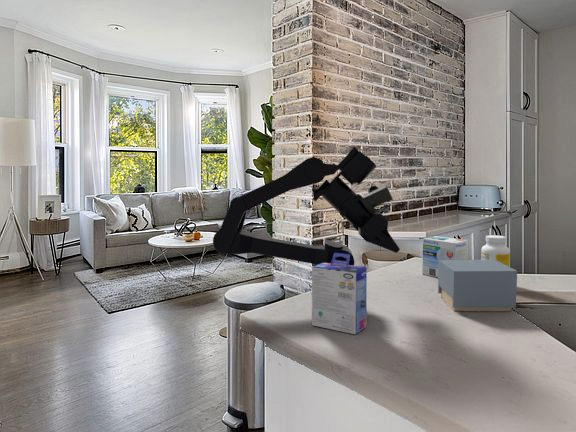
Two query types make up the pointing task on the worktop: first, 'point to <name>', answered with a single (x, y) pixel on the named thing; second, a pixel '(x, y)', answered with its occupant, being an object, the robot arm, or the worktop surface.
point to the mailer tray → (448, 300)
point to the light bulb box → (442, 252)
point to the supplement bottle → (496, 250)
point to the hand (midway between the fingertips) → (394, 247)
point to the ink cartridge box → (339, 295)
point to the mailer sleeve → (478, 283)
